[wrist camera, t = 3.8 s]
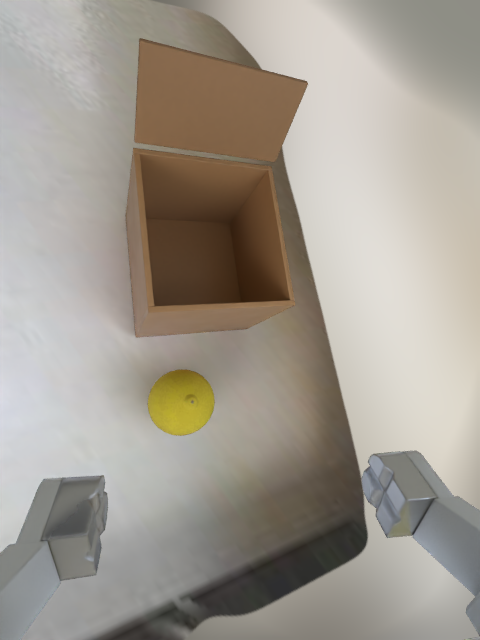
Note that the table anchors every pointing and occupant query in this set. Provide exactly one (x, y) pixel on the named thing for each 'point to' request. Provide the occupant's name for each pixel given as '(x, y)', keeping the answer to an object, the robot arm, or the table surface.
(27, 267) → the table surface
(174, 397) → the lemon
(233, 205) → the carton
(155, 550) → the table surface
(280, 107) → the flap
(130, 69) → the table surface
